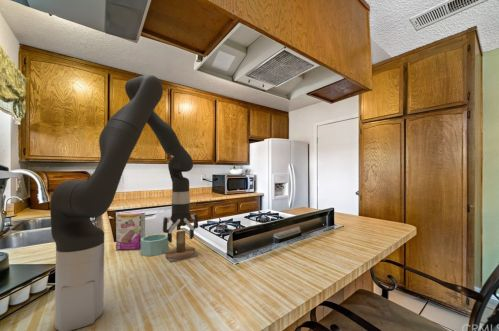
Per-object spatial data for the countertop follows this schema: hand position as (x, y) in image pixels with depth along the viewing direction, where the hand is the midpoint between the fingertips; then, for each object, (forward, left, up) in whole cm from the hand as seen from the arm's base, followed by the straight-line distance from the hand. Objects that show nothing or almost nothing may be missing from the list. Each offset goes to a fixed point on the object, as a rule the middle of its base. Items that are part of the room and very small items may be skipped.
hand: (181, 240), depth 90 cm
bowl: (+11, +9, -6) cm, 15 cm away
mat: (0, 0, -6) cm, 6 cm away
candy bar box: (+21, +18, -6) cm, 28 cm away
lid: (0, 0, -6) cm, 6 cm away
